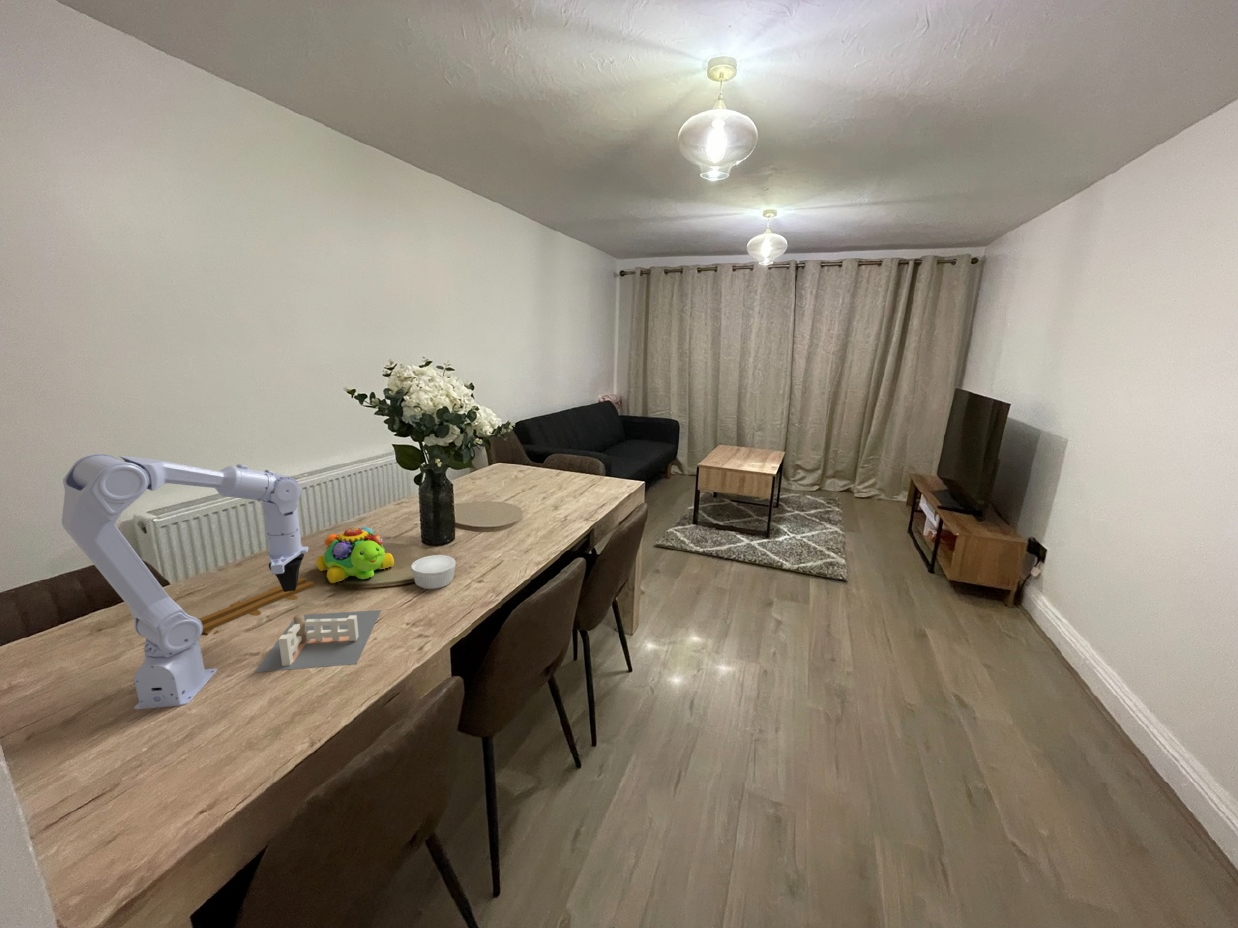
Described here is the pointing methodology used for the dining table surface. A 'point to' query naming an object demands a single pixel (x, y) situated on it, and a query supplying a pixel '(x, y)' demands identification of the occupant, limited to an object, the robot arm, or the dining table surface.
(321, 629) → the fence gate
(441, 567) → the ramekin
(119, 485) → the robot arm
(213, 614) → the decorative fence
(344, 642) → the card
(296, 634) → the fence fixed
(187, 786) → the dining table surface
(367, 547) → the turtle toy
